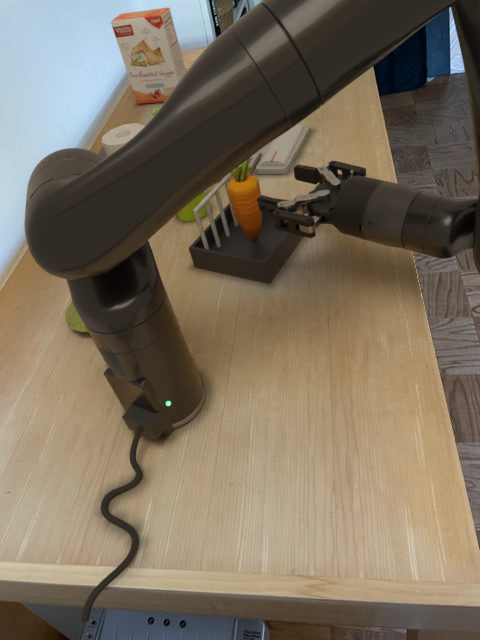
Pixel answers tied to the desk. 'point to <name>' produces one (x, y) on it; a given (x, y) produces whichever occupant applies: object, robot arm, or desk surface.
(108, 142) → the toilet tissue
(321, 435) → the desk surface
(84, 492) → the desk surface
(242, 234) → the drying rack
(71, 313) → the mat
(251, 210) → the carrot
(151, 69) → the cracker box
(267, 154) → the office telephone
